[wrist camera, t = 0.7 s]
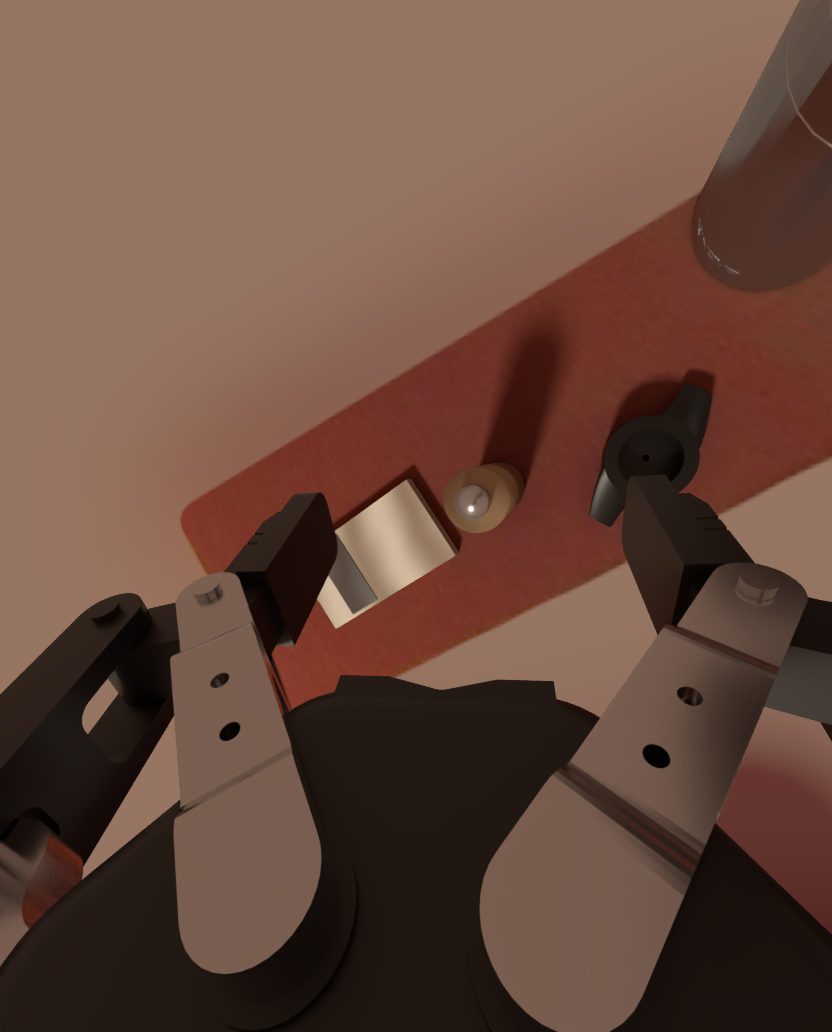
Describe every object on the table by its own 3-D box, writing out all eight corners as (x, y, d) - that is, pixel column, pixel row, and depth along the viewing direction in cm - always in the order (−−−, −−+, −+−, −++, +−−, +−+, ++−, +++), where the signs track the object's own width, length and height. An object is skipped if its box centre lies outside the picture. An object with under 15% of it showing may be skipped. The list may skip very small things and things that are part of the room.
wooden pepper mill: (506, 452, 36) (480, 454, 26) (534, 493, 36) (519, 513, 25) (466, 479, 37) (425, 493, 27) (492, 520, 37) (461, 549, 27)
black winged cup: (557, 437, 35) (556, 437, 32) (697, 377, 31) (709, 371, 29) (595, 529, 35) (597, 536, 32) (739, 479, 31) (755, 483, 29)
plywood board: (410, 478, 39) (405, 479, 38) (458, 552, 39) (455, 555, 37) (300, 557, 44) (293, 561, 43) (342, 623, 44) (335, 629, 42)
